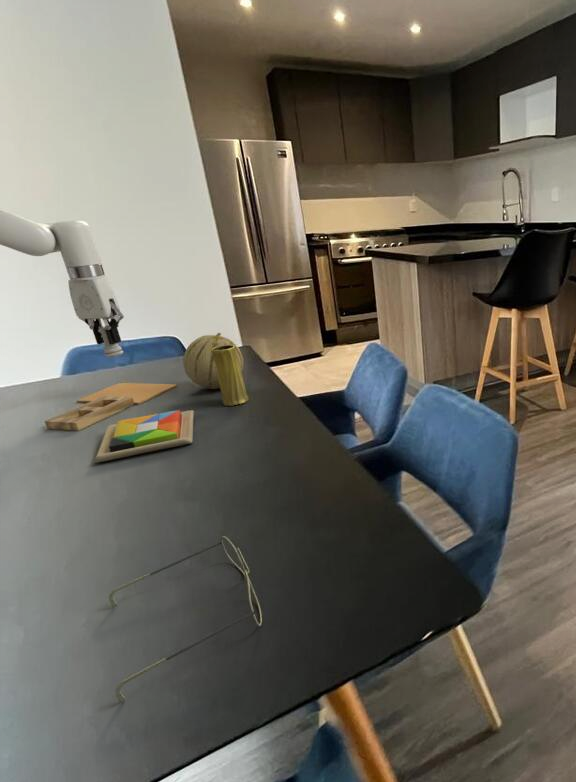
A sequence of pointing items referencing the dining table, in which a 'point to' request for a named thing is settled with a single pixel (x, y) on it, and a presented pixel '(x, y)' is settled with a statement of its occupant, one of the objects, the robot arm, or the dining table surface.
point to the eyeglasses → (113, 604)
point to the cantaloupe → (206, 360)
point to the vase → (229, 375)
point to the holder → (89, 413)
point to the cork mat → (131, 391)
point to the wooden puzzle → (146, 435)
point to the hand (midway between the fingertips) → (109, 342)
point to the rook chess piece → (109, 345)
